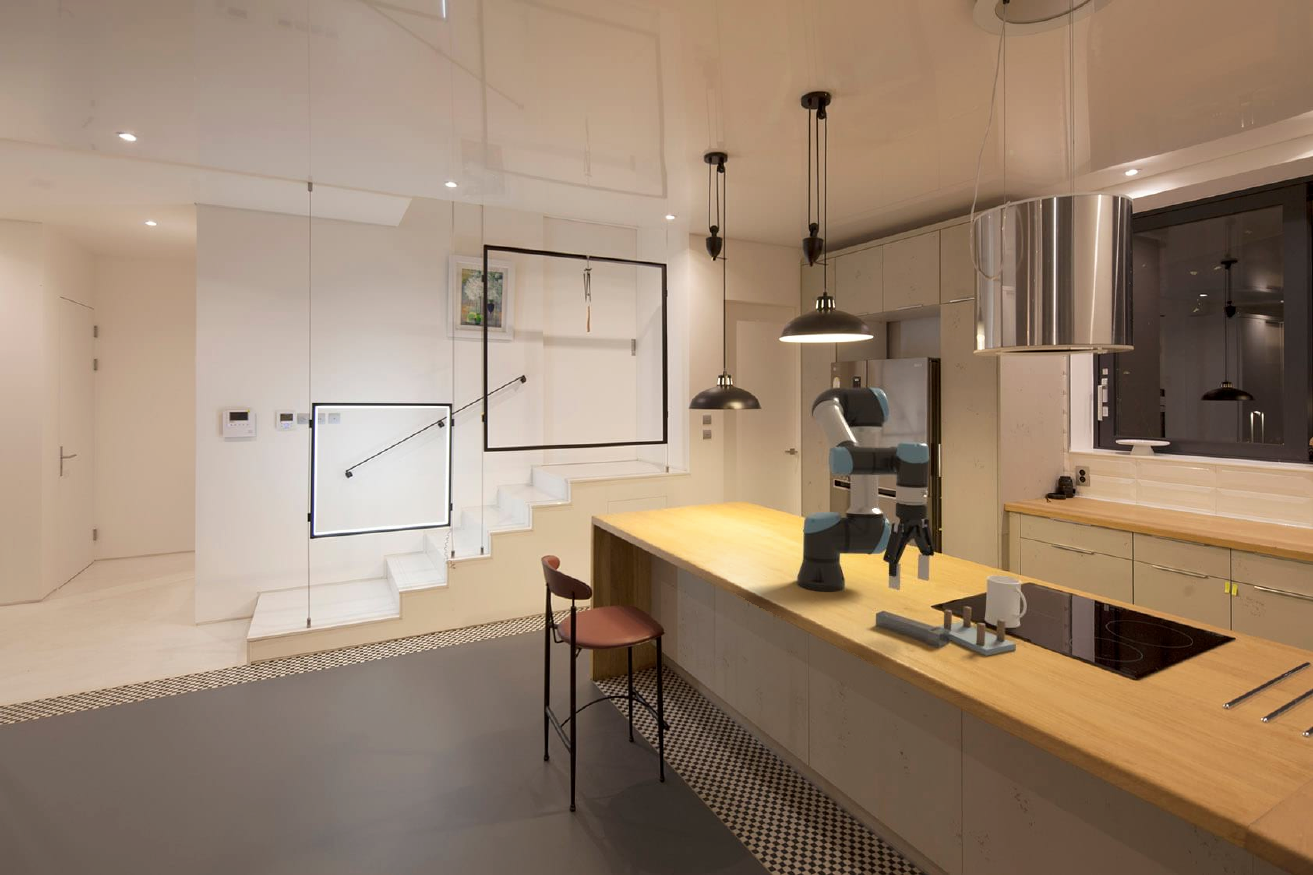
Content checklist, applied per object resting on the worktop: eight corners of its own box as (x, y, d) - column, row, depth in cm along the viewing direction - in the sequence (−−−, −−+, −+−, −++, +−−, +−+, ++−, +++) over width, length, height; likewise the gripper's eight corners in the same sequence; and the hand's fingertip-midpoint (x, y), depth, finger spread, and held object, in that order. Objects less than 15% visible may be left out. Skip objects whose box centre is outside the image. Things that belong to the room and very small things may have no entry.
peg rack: (933, 632, 164) (934, 608, 164) (961, 627, 168) (962, 603, 168) (986, 655, 150) (987, 629, 149) (1015, 649, 153) (1016, 623, 153)
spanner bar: (874, 626, 168) (874, 614, 168) (884, 622, 171) (884, 610, 171) (938, 648, 154) (939, 634, 154) (949, 643, 157) (949, 629, 157)
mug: (1036, 631, 165) (1038, 587, 164) (1007, 633, 164) (1009, 588, 163) (1005, 616, 177) (1006, 574, 176) (977, 617, 175) (979, 575, 175)
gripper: (897, 509, 151) (894, 596, 152) (950, 500, 166) (947, 579, 167) (870, 505, 157) (867, 588, 158) (923, 496, 172) (921, 572, 173)
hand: (909, 584), depth 162 cm, fingers open, 13 cm apart
